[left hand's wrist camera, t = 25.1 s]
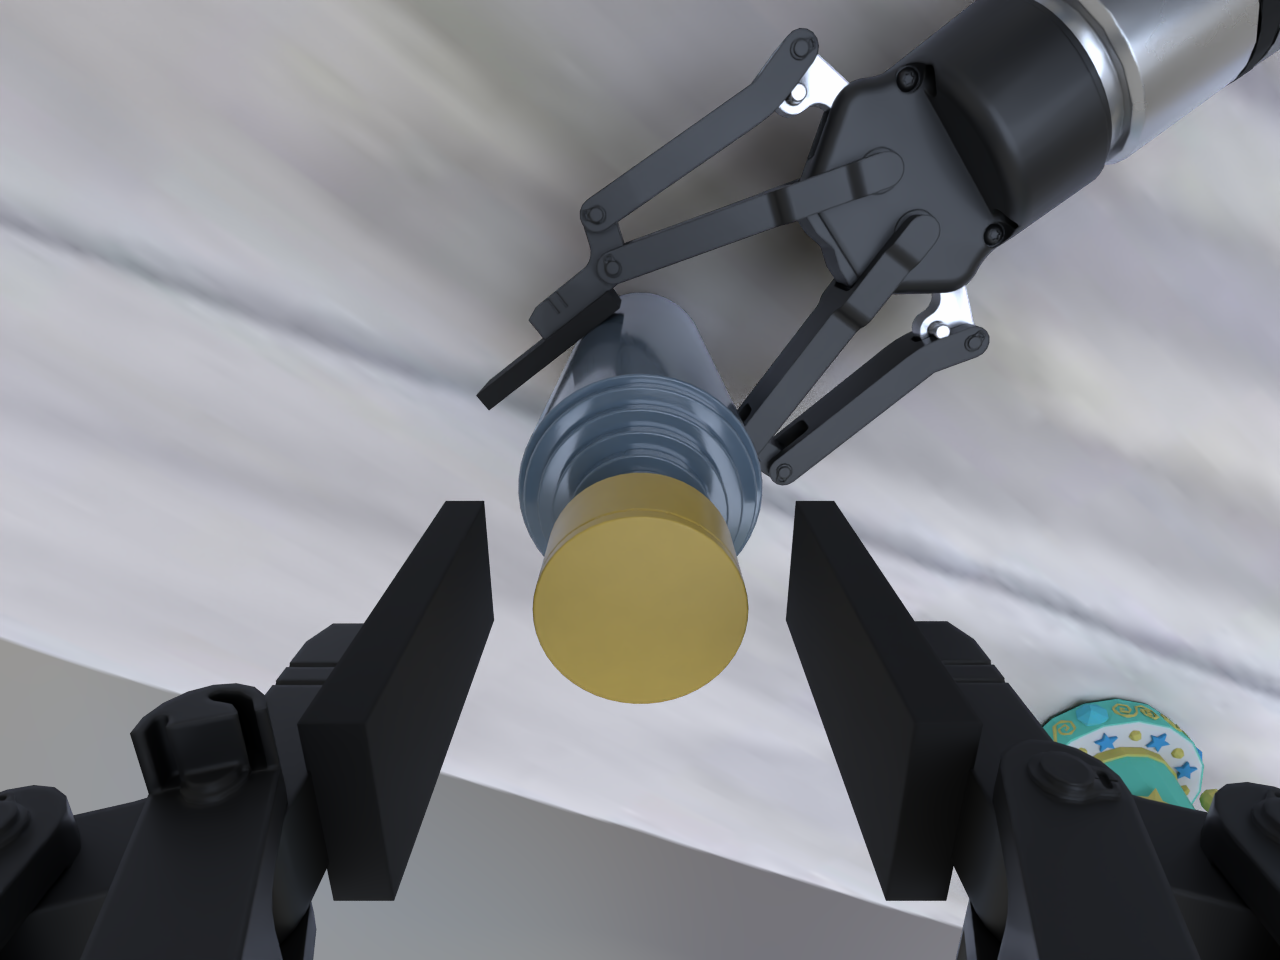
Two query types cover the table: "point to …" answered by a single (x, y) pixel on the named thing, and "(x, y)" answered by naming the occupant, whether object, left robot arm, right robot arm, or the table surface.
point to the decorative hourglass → (1137, 749)
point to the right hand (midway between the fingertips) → (544, 457)
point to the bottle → (640, 420)
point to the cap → (640, 590)
